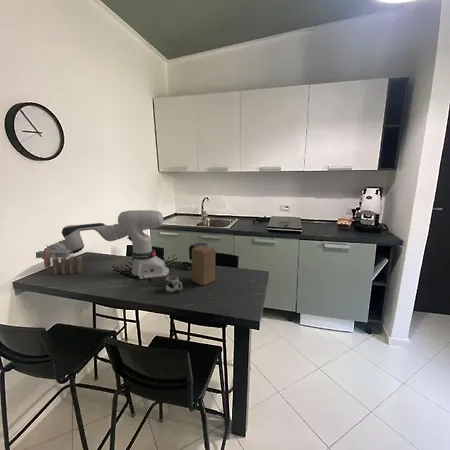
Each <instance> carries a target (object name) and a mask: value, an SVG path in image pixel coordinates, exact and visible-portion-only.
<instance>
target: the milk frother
mask: <svg viewBox="0 0 450 450" xmlns="http://www.w3.org/2000/svg"><path fill="white" fill-rule="evenodd" d="M200 246H208V244H207V243H205V242H195V243H193V244H191V245H190V246H189V248H188V254H189V260H190V261H192V249H193V248H196V247H200ZM181 266H182V268H183V269H185V270H188V271H189V270H192V263H191V262H188V261H183V262H182V263H181Z"/></svg>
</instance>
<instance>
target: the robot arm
mask: <svg viewBox="0 0 450 450" xmlns="http://www.w3.org/2000/svg"><path fill="white" fill-rule="evenodd" d="M163 223H164V216H163V214H162V213H161V211H158V210H153V209H152V210H150V209H149V210H148V209H147V210H145V209H143V210H137V209H136V210H126V211H121V212H120V213H119V215H118V216H117V223H114V224H111V225H107V224H105V223H102V222H95V223H85V224H76V225H75V224H71V225H65V226H64V227H63V228H62V230H61V235H62V237H63V238H64V239H65V240H63V239H61V240H62V241H60V240H59V242H58V241H57V242H58V243H57V242H55V243H52V244H49V245H50V246H47V245H46V246H47V248H45V249H44V251H45V250H49V254H50V255H48V256H47V258H48V259H50V260H51V259H53V258H54V257H58V259H59V258H62V257H63V256H66V258H69V257H70V255H73V254H77V253H80V252H81V251H82V250H83V249H84V247H85V244H84V241H83V238H82V236H81V232H83V231H95V232H97V233H98V234H99V235H100V236H101V238H102V239H104V240H105V241H107V242H115V241H118V240H121V239H124V238H126V239H127V240H129V241H130V242H131V244H132V251H131V255H132V256H131V259H132V268H131V270H132V271H131V273H132V274H134V275H137V276H139V278H138V279H140V280H141V279H142V280H143V279H152V278H159V277H161V278H162V277H167V276H169V272H170V268H169V267H167V266H166V263H165V261H164V259H161V258H159V257H158V256H157V255H156V254H157V253H156V250H154V249H153V244H152V238H151V236H150V235H148V234H146V233H144V231H146V230H153V229H158V228H161V227H162V226H163ZM44 251H39V252H36V258H35V259H42V260H44V258H43V252H44ZM132 274H131V275H132ZM143 276H144V277H143Z"/></svg>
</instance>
